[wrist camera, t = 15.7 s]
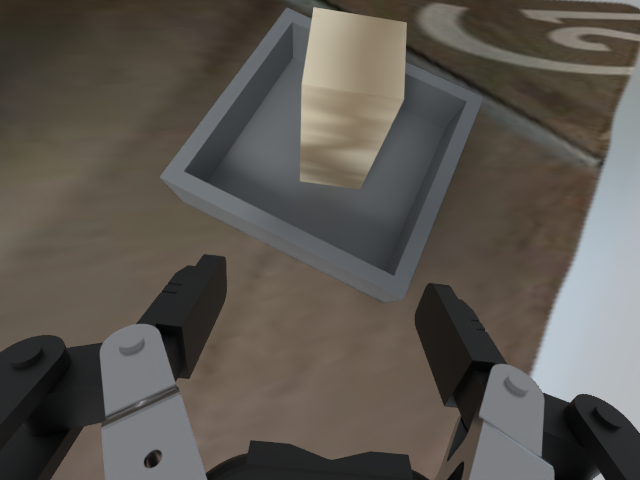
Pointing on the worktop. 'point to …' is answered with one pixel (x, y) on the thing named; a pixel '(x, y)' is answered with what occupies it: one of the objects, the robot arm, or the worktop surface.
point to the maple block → (349, 94)
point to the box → (317, 199)
